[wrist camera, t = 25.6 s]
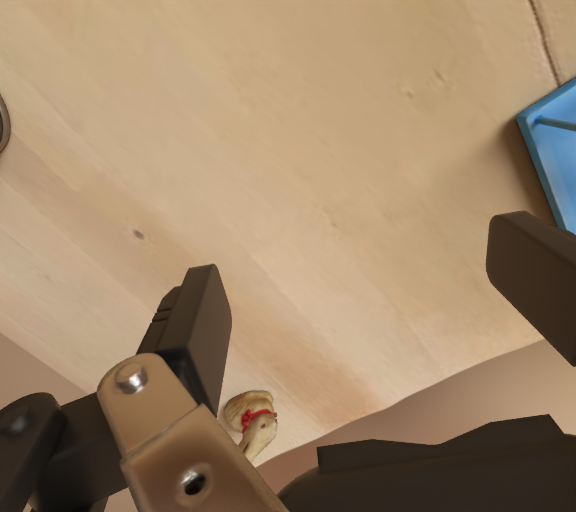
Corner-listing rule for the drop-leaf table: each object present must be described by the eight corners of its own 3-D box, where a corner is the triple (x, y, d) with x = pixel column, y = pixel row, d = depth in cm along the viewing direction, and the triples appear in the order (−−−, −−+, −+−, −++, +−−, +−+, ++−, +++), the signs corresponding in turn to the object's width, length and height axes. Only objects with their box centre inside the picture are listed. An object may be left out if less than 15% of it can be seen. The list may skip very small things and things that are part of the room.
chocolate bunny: (277, 414, 55) (277, 481, 46) (225, 414, 54) (215, 482, 46) (277, 388, 52) (277, 454, 43) (222, 388, 52) (211, 455, 43)
